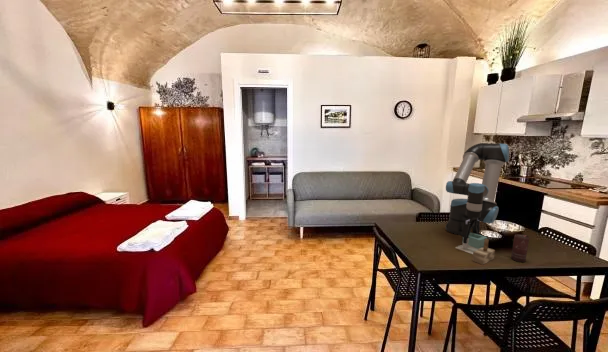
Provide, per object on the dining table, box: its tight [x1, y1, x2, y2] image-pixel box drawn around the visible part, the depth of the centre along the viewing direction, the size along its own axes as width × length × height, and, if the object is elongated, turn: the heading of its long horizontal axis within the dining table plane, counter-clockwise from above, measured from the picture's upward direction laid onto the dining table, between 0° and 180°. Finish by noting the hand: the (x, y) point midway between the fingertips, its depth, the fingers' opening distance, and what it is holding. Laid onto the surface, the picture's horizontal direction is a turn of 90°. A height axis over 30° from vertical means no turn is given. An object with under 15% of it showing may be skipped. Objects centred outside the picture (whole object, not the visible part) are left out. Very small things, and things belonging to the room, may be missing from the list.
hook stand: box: [471, 238, 496, 266], centre depth 140 cm, size 13×5×12 cm, turn 123°
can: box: [511, 233, 530, 263], centre depth 140 cm, size 6×6×14 cm
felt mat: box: [454, 244, 481, 255], centre depth 153 cm, size 14×14×1 cm
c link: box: [461, 231, 488, 249], centre depth 152 cm, size 9×9×5 cm
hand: (469, 246), depth 155 cm, fingers closed on c link, 9 cm apart
